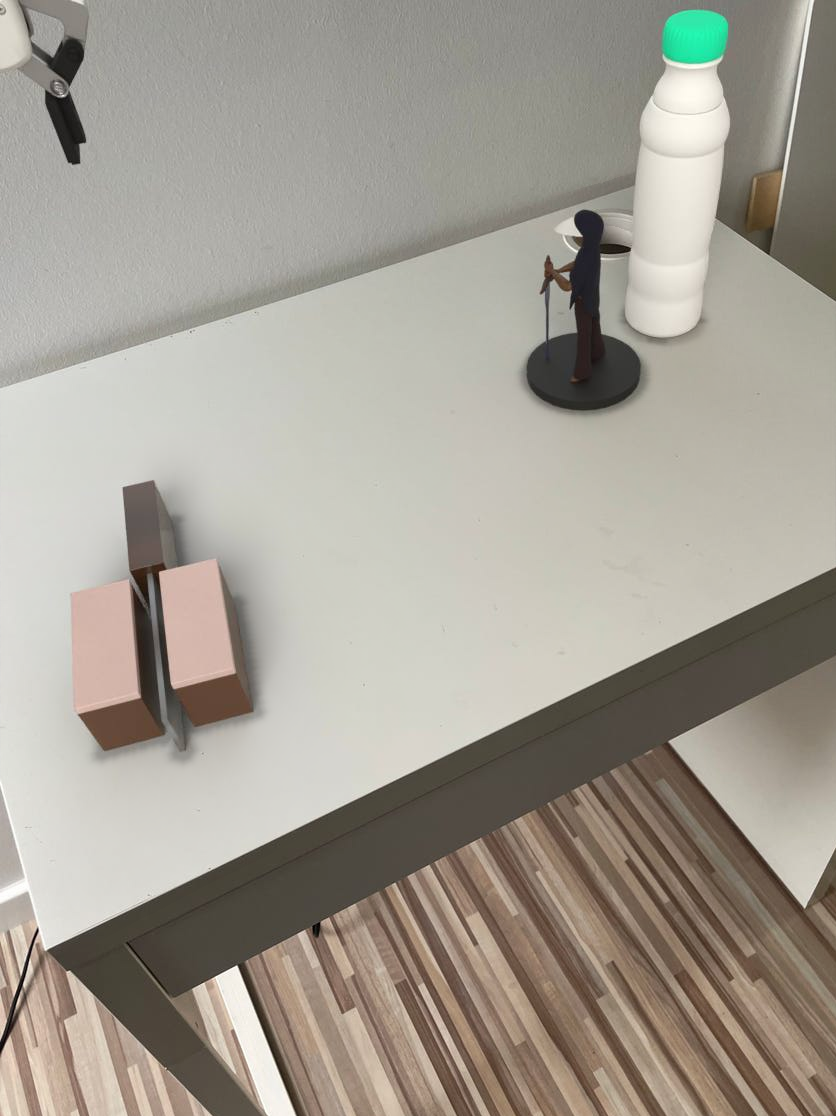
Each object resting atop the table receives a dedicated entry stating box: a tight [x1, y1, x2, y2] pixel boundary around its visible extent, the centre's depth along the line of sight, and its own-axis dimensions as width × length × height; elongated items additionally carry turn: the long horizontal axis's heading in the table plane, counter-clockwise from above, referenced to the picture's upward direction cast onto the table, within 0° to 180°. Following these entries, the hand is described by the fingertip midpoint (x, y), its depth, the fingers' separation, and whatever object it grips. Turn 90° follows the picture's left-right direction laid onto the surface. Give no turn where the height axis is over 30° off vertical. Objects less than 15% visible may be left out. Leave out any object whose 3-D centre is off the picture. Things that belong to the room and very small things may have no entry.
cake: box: [70, 557, 254, 752], centre depth 63 cm, size 10×10×5 cm
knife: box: [122, 479, 186, 753], centre depth 66 cm, size 22×2×4 cm, turn 17°
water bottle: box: [624, 9, 731, 339], centre depth 78 cm, size 7×7×25 cm
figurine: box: [526, 209, 642, 411], centre depth 77 cm, size 10×10×15 cm
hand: (0, 168), depth 61 cm, fingers open, 9 cm apart
